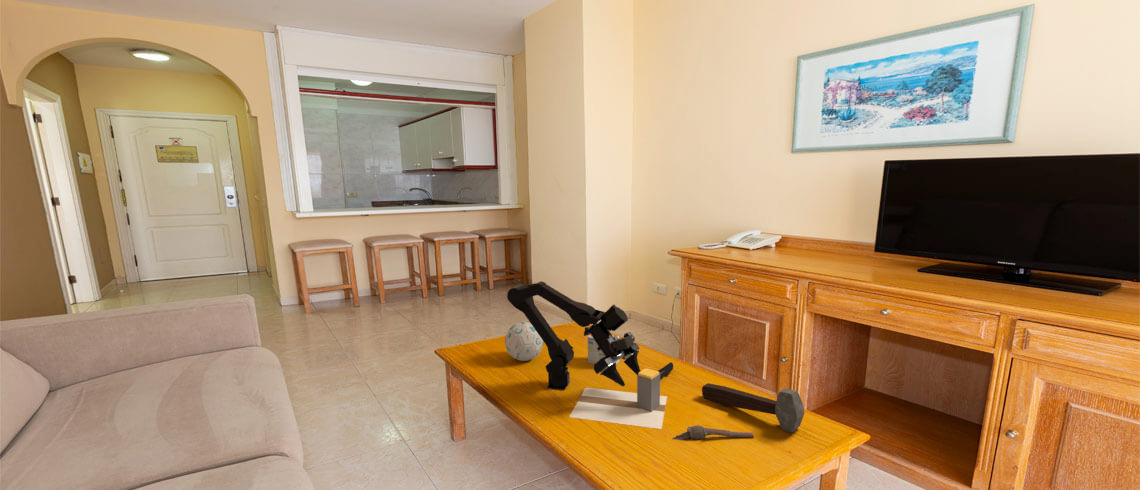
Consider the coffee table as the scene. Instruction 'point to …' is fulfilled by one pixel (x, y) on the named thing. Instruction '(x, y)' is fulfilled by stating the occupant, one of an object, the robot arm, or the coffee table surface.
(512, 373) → the coffee table surface
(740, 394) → the hammer
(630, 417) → the board
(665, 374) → the electric trimmer
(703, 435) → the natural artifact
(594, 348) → the light bulb box
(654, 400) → the yellow-topped grey block
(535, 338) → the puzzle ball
